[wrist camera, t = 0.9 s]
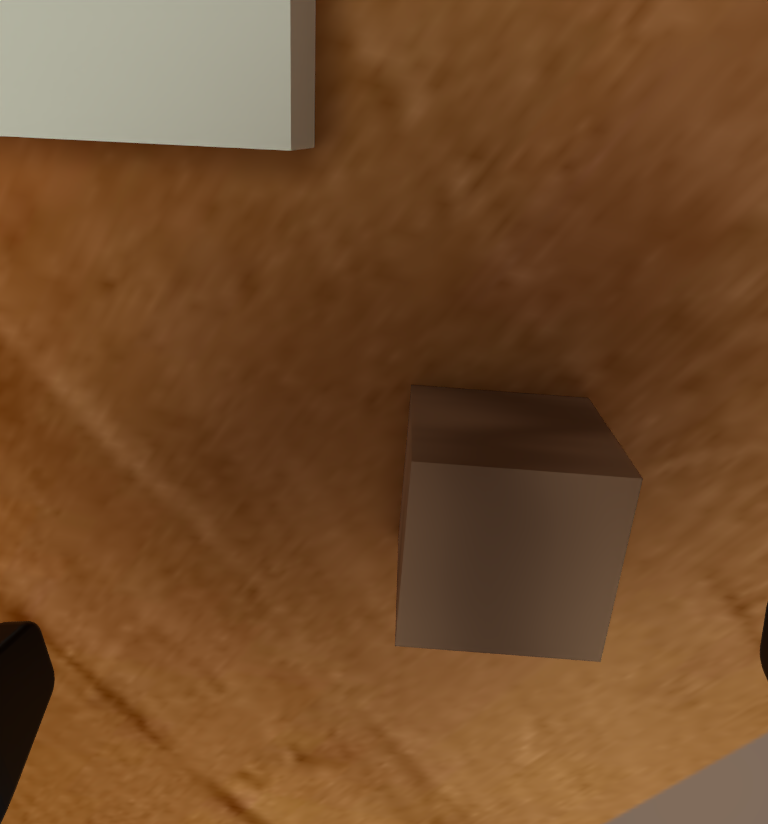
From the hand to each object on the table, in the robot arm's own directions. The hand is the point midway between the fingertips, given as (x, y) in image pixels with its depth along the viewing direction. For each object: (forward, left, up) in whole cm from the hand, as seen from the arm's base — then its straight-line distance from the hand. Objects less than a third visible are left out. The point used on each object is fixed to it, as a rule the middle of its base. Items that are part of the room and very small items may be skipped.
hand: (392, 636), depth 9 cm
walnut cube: (-3, +3, -12) cm, 12 cm away
